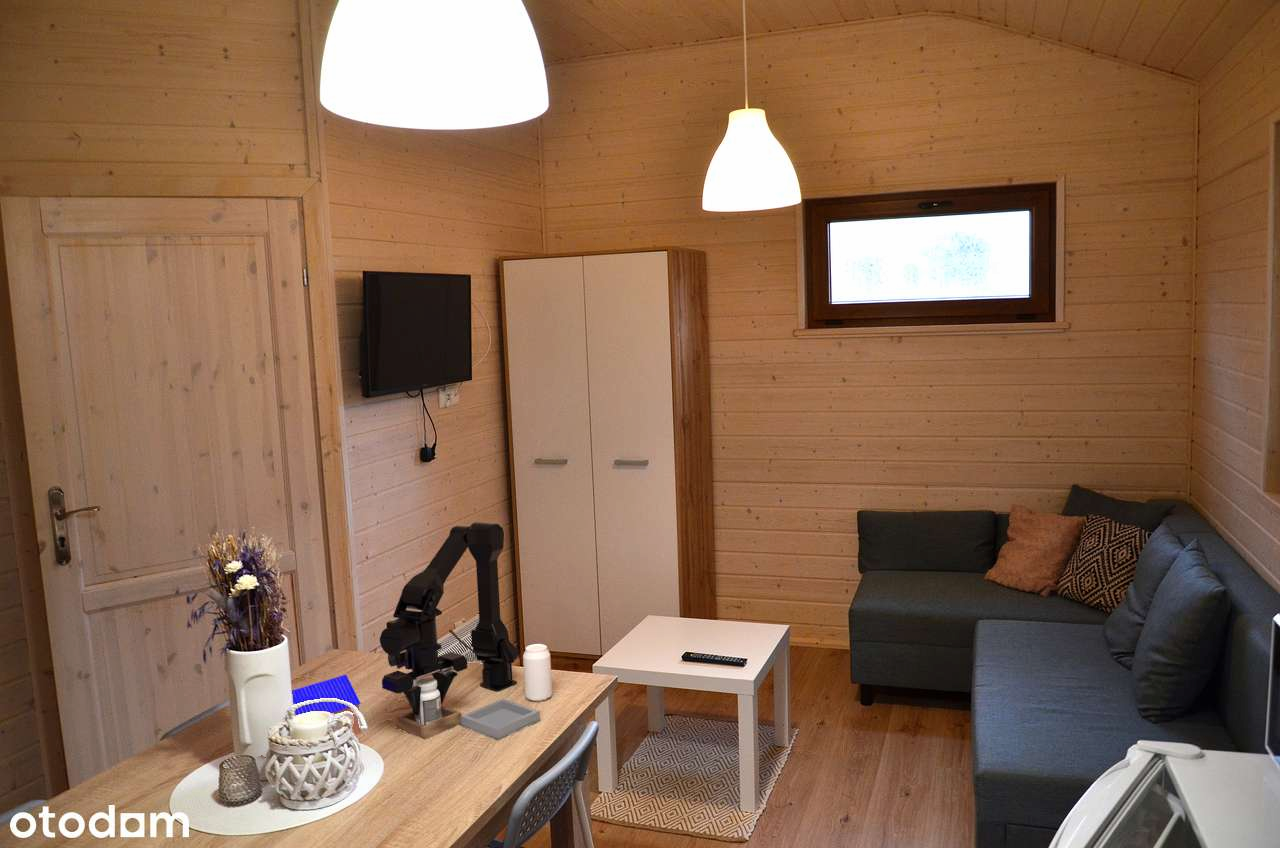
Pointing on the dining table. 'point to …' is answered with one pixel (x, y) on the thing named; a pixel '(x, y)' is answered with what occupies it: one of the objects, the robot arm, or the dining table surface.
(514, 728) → the tray
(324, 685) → the blue ribbed roof
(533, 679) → the beverage can
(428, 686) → the pill bottle
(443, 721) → the socket collar
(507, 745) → the dining table surface
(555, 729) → the dining table surface
